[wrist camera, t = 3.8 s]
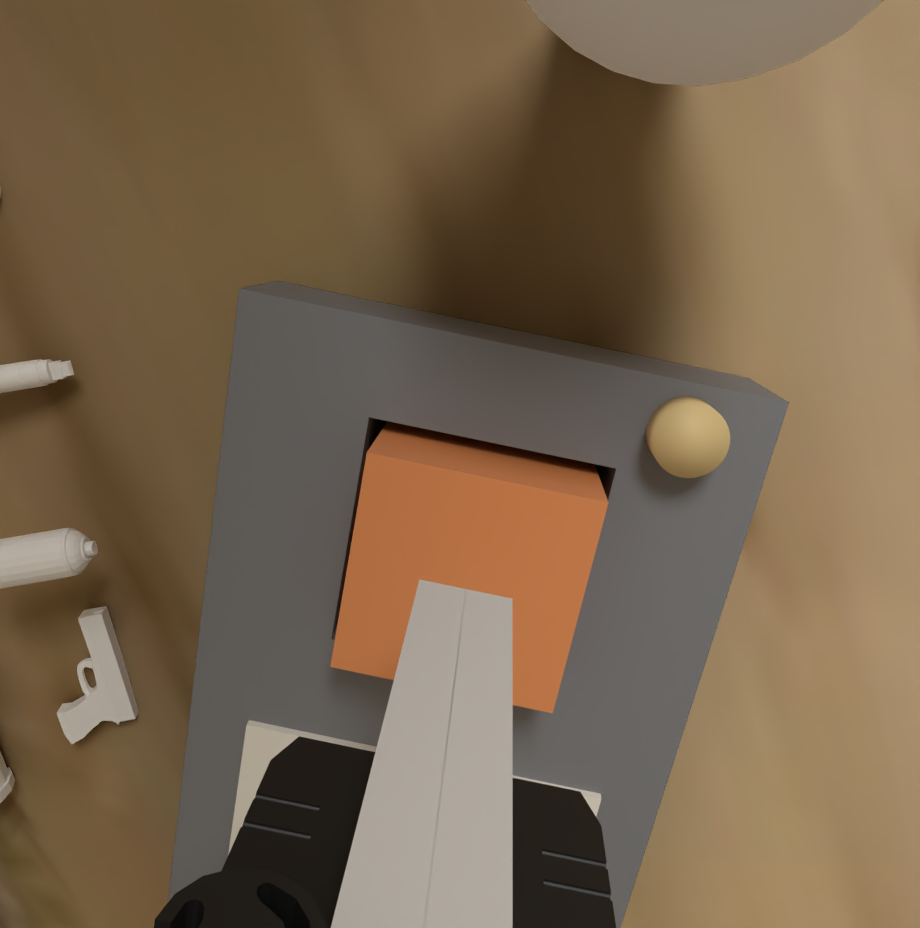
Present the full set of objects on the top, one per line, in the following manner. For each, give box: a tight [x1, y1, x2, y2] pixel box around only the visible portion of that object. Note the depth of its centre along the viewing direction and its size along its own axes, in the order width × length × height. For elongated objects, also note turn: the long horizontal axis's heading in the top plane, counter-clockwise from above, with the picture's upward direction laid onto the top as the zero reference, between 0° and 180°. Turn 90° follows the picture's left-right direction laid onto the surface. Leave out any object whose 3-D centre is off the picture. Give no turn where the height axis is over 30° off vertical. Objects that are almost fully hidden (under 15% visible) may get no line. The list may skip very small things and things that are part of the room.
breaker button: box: [330, 421, 609, 713], centre depth 19 cm, size 5×5×4 cm
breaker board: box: [168, 281, 789, 928], centre depth 21 cm, size 20×12×4 cm, turn 169°
